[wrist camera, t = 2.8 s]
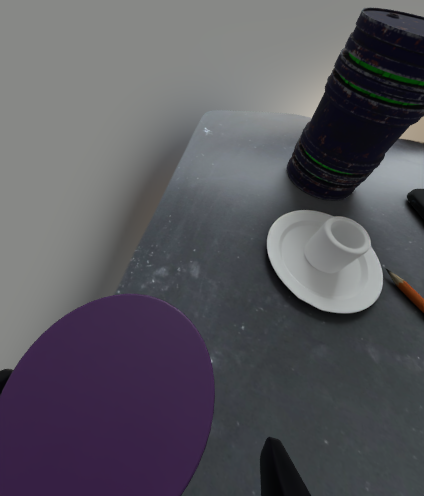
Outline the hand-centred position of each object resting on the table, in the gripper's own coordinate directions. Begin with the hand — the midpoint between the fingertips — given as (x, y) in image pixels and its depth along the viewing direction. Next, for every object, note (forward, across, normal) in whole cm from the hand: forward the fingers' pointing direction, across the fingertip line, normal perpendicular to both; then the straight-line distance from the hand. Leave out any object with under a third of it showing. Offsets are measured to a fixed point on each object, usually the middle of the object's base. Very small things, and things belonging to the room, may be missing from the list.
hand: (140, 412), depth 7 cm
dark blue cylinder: (+26, -13, -14) cm, 33 cm away
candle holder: (+16, -12, -4) cm, 21 cm away
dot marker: (+6, 0, +5) cm, 8 cm away
